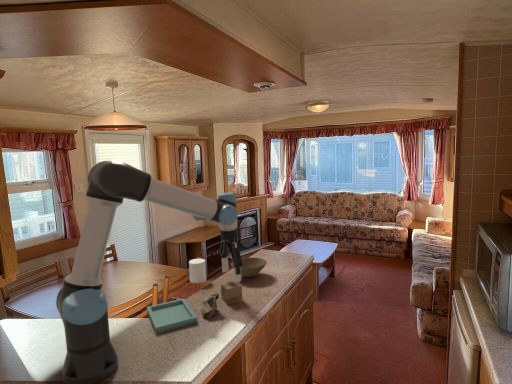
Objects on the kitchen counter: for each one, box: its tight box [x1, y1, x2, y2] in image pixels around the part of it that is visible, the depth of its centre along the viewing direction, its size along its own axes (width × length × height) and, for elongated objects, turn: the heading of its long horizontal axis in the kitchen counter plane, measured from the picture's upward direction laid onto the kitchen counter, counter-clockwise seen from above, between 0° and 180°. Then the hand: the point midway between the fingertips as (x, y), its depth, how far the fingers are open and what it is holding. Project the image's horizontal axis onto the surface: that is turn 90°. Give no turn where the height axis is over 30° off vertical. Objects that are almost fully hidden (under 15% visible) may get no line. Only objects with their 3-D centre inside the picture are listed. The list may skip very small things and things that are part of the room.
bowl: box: [230, 257, 268, 278], centre depth 173 cm, size 18×18×8 cm
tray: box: [146, 298, 198, 334], centre depth 133 cm, size 19×15×2 cm
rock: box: [201, 292, 220, 319], centre depth 135 cm, size 9×7×10 cm
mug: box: [188, 258, 207, 284], centre depth 172 cm, size 8×10×12 cm
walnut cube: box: [220, 280, 243, 306], centre depth 146 cm, size 7×7×7 cm
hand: (231, 276), depth 146 cm, fingers open, 13 cm apart
